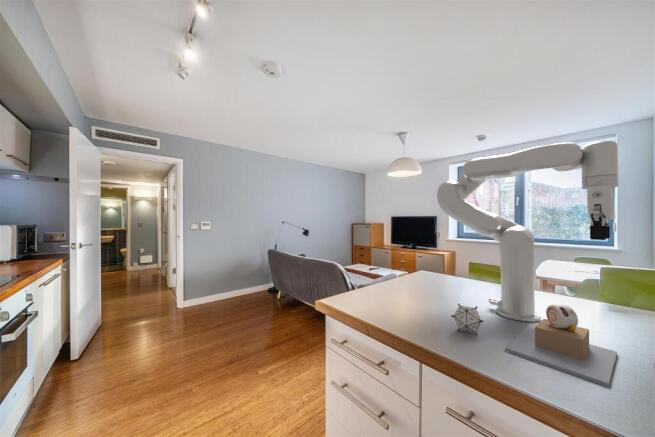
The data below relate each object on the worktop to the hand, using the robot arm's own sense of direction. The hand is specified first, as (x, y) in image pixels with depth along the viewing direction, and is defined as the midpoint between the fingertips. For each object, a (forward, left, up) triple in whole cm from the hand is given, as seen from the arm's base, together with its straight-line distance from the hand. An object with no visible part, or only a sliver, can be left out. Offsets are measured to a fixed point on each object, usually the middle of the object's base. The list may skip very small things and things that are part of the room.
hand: (600, 238), depth 76 cm
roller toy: (-5, -24, -23) cm, 33 cm away
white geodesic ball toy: (-25, -32, -28) cm, 50 cm away
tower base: (-5, -26, -28) cm, 39 cm away
